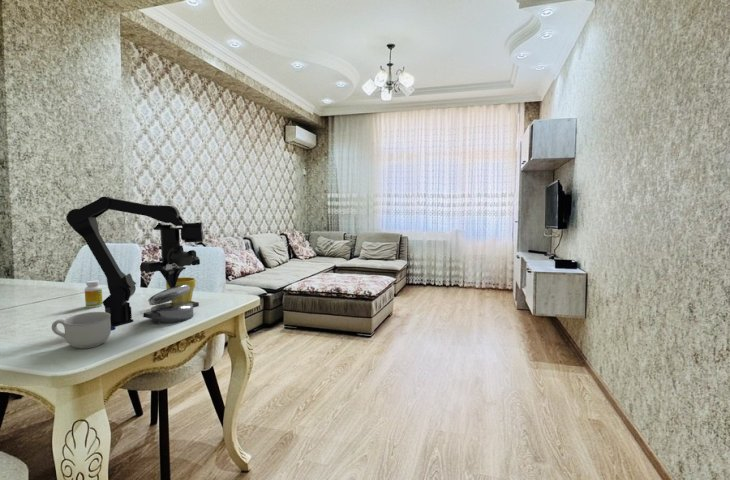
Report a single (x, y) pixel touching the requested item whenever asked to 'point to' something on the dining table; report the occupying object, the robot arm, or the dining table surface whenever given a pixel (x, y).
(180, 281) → the plant pot
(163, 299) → the cooker lid
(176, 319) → the cooker pot
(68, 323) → the teacup
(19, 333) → the dining table surface
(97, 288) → the supplement bottle
